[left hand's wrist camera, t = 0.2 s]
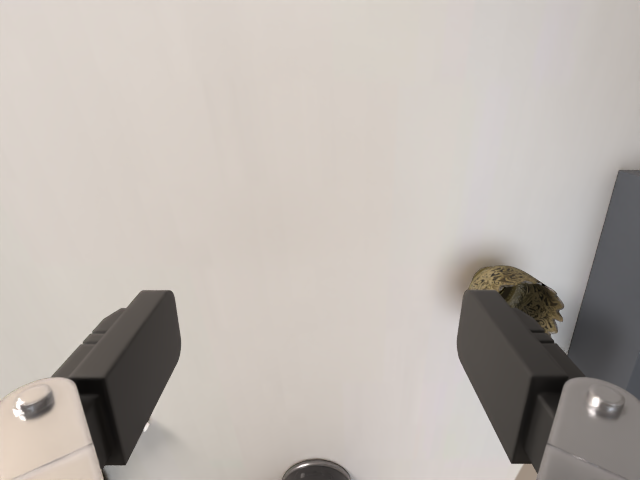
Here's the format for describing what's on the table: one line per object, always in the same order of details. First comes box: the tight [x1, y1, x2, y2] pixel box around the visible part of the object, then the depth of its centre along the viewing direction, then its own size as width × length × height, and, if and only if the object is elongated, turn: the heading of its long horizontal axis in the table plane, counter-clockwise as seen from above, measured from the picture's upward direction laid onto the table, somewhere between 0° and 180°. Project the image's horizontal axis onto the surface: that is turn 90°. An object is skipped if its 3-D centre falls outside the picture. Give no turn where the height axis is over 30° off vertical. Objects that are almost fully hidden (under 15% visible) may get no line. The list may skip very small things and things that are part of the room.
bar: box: [568, 170, 640, 401], centre depth 40 cm, size 26×5×9 cm, turn 0°
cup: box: [469, 266, 564, 337], centre depth 39 cm, size 8×7×8 cm
